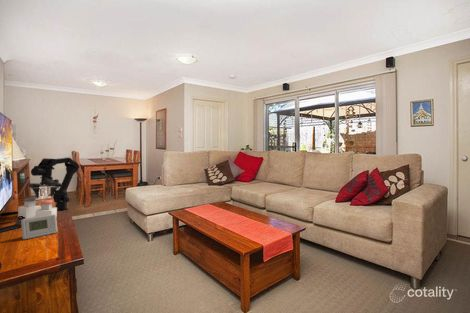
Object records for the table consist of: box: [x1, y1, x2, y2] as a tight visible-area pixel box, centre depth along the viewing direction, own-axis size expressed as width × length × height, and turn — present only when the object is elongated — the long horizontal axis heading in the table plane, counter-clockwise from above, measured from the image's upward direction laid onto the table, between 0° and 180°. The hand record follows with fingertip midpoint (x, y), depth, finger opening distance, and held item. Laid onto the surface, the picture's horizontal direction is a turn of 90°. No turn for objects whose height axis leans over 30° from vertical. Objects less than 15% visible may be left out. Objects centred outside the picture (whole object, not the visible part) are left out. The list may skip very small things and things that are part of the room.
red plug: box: [40, 199, 54, 210], centre depth 168 cm, size 6×6×8 cm
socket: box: [17, 204, 41, 219], centre depth 174 cm, size 9×9×7 cm
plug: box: [23, 197, 37, 207], centre depth 174 cm, size 6×6×8 cm
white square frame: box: [35, 206, 58, 218], centre depth 168 cm, size 9×9×7 cm
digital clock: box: [20, 214, 58, 240], centre depth 138 cm, size 16×9×11 cm, turn 134°
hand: (44, 197), depth 178 cm, fingers open, 9 cm apart
